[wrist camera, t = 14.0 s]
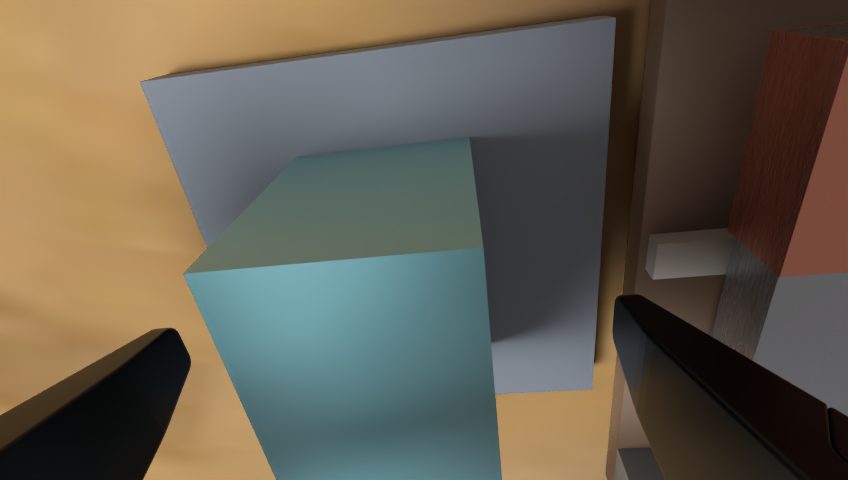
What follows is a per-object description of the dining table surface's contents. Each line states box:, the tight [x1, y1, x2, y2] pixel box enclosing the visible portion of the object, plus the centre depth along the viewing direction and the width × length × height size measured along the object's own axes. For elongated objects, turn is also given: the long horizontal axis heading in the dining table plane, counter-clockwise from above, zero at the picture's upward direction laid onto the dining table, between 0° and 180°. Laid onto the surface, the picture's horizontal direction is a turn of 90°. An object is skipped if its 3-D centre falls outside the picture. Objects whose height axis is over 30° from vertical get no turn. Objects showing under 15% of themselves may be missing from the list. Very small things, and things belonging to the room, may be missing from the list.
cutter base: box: [606, 0, 848, 480], centre depth 11 cm, size 16×6×4 cm, turn 7°
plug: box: [183, 137, 502, 480], centre depth 10 cm, size 9×4×5 cm, turn 7°
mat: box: [140, 15, 616, 394], centre depth 12 cm, size 10×10×1 cm
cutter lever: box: [712, 21, 848, 416], centre depth 10 cm, size 15×3×2 cm, turn 7°
